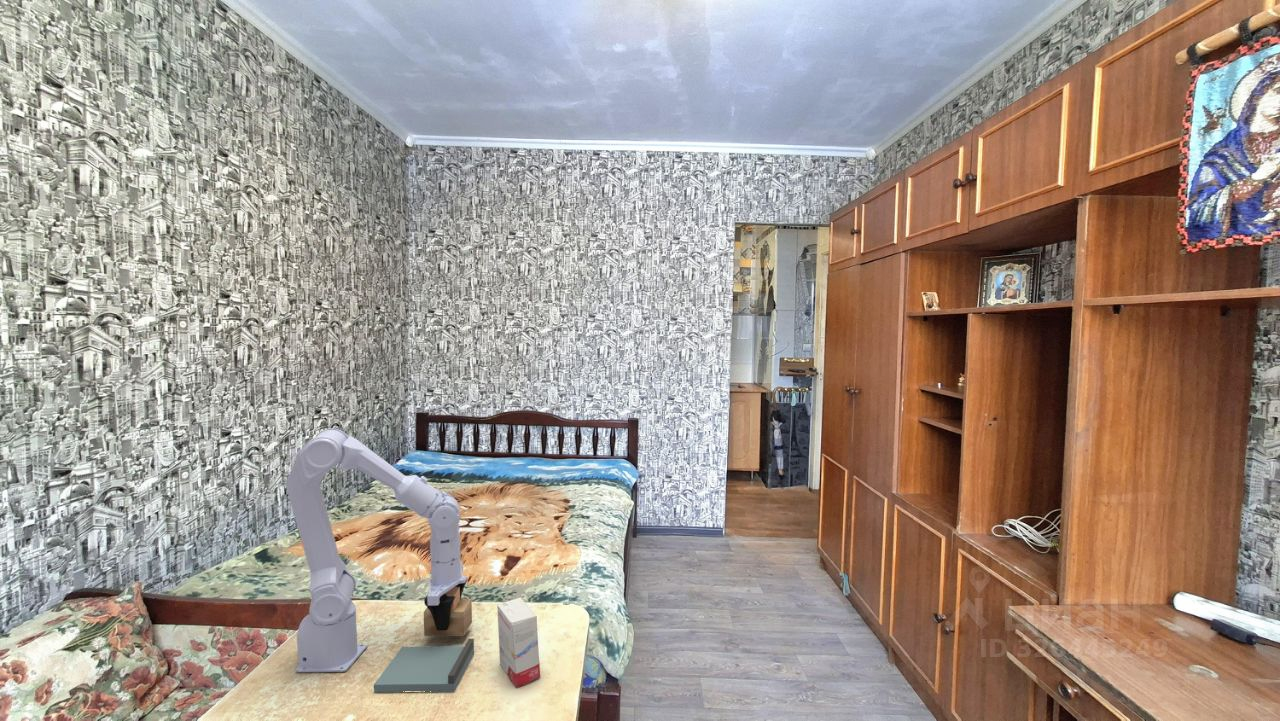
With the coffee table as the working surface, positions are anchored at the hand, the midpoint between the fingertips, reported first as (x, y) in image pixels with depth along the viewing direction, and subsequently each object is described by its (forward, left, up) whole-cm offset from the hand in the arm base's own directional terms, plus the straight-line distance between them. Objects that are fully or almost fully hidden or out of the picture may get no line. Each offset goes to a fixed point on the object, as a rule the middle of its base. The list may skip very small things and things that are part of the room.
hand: (447, 621), depth 109 cm
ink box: (+17, -11, -4) cm, 21 cm away
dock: (0, -11, -3) cm, 12 cm away
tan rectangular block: (0, 0, -2) cm, 2 cm away
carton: (0, 0, +3) cm, 3 cm away
